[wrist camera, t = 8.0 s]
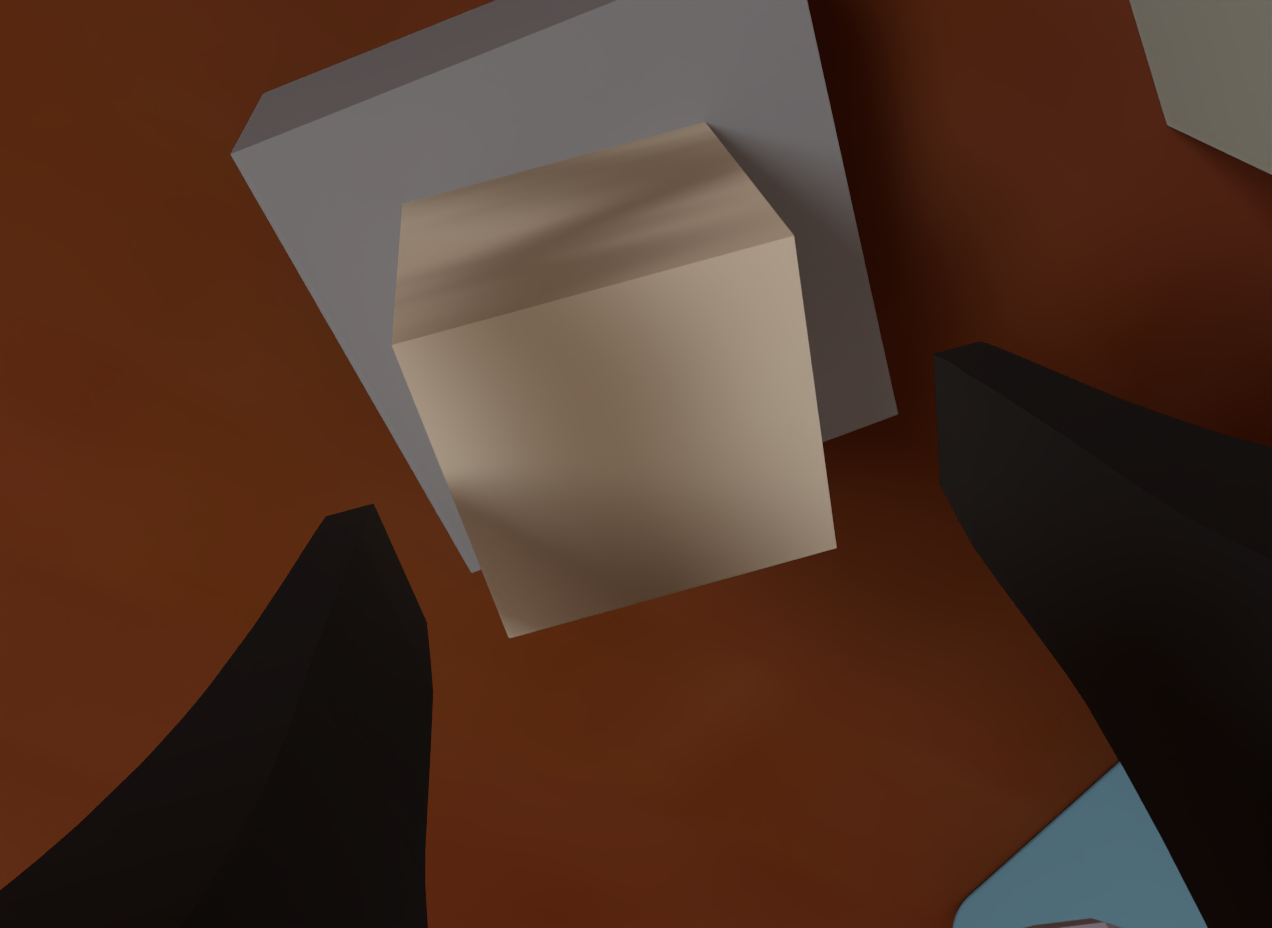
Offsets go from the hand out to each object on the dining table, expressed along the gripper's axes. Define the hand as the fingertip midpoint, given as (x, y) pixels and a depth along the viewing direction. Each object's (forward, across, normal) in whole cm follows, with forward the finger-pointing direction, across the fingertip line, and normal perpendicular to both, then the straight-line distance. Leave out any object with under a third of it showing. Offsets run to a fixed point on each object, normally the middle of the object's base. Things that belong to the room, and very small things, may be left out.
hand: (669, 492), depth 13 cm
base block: (+10, 0, 0) cm, 10 cm away
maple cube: (+6, 0, 0) cm, 6 cm away
